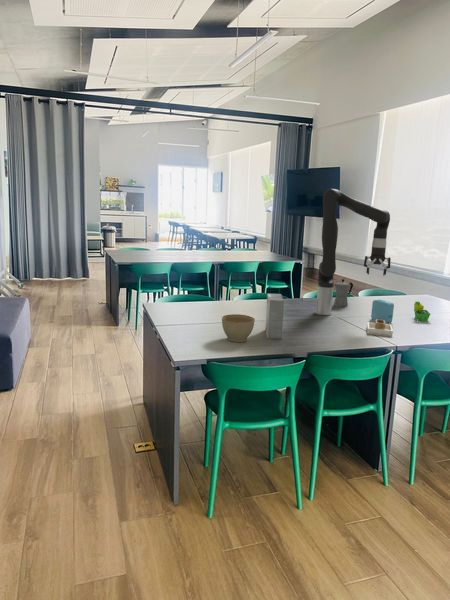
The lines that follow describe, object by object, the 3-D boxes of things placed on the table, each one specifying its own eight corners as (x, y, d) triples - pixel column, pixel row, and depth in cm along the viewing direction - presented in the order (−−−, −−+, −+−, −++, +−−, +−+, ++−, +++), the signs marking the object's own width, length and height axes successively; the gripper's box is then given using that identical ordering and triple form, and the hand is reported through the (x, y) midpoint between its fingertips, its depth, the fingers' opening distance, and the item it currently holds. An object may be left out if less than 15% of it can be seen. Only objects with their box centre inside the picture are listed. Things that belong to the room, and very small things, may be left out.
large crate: (367, 333, 243) (367, 328, 242) (366, 327, 256) (367, 322, 255) (392, 336, 240) (392, 331, 239) (390, 329, 252) (391, 324, 252)
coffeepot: (337, 307, 302) (339, 280, 298) (328, 304, 310) (330, 278, 307) (355, 306, 309) (358, 279, 305) (346, 303, 317) (348, 277, 313)
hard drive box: (265, 329, 244) (267, 293, 240) (279, 330, 244) (281, 293, 239) (266, 338, 229) (269, 299, 224) (282, 339, 228) (284, 300, 224)
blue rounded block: (392, 323, 267) (394, 303, 265) (387, 324, 265) (389, 303, 262) (375, 318, 277) (377, 299, 275) (370, 319, 275) (372, 299, 272)
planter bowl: (229, 346, 215) (230, 323, 212) (216, 336, 229) (216, 315, 227) (259, 342, 221) (260, 321, 219) (244, 333, 235) (245, 313, 233)
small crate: (375, 331, 244) (376, 322, 243) (374, 328, 252) (375, 319, 251) (384, 332, 243) (385, 323, 242) (383, 329, 251) (384, 320, 250)
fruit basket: (429, 322, 272) (432, 304, 269) (414, 321, 274) (416, 302, 271) (425, 317, 283) (428, 300, 280) (410, 316, 284) (412, 299, 282)
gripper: (391, 246, 259) (388, 274, 263) (365, 245, 263) (362, 273, 267) (392, 247, 252) (389, 276, 256) (365, 246, 256) (362, 274, 259)
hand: (375, 274), depth 261 cm, fingers open, 8 cm apart
